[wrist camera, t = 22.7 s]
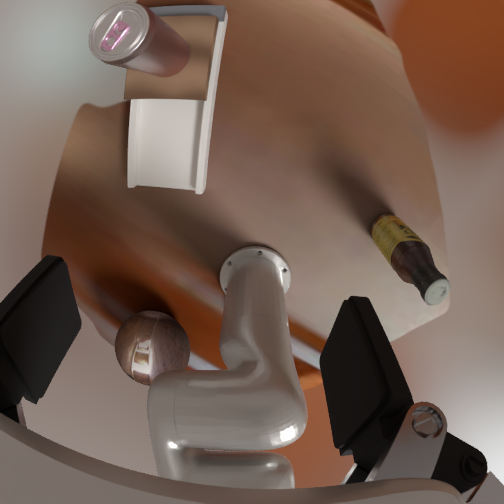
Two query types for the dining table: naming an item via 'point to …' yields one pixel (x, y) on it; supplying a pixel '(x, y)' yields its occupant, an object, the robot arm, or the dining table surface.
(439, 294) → the sauce bottle
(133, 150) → the track
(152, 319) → the wooden sphere
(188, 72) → the slab
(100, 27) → the beverage can
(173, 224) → the dining table surface
